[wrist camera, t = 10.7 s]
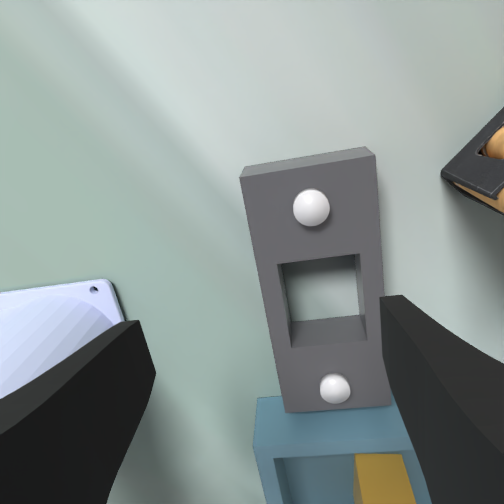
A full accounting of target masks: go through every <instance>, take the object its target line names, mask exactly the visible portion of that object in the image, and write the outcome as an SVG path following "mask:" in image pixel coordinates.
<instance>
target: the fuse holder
mask: <svg viewBox="0 0 504 504" xmlns="http://www.w3.org/2000/svg"><path fill="white" fill-rule="evenodd" d="M239 178H240V183H241V188H242V194H243V199H244V204H245V209H246V214H247V219H248V224H249V230H250V235H251V240H252V245H253V250H254V255H255V260H256V265H257V271H258V276H259V281H260V286H261V291H262V296H263V301H264V307H265V312H266V317H267V322H268V327H269V332H270V337H271V342H272V348H273V353H274V358H275V363H276V368H277V373H278V378H279V384H280V389H281V394H282V399H283V404H284V409H285V413H294V412H308V411H321V410H335V409H348V408H361V407H375V406H388V405H391V389H390V385H389V381H388V377H387V373H386V369H385V365H384V361H383V357H382V339H381V320H380V301H379V297H384V281H383V265H382V250H381V234H380V219H379V203H378V188H377V173H376V157H375V154H374V153H372V152H371V151H370V150H369V149H368V148H366V147H359V148H353V149H347V150H341V151H335V152H329V153H324V154H318V155H312V156H306V157H300V158H294V159H288V160H282V161H276V162H270V163H264V164H258V165H252V166H246V167H244V169H243V171H242V173H241V175H240V177H239ZM350 254H354V260H355V270H356V281H357V292H358V303H359V313H360V315H354V316H345V317H335V318H326V319H317V320H308V321H298V322H291V319H290V313H289V307H288V301H287V296H286V290H285V284H284V278H283V272H282V266H281V263H289V262H297V261H304V260H312V259H320V258H327V257H335V256H343V255H350Z"/></svg>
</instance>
